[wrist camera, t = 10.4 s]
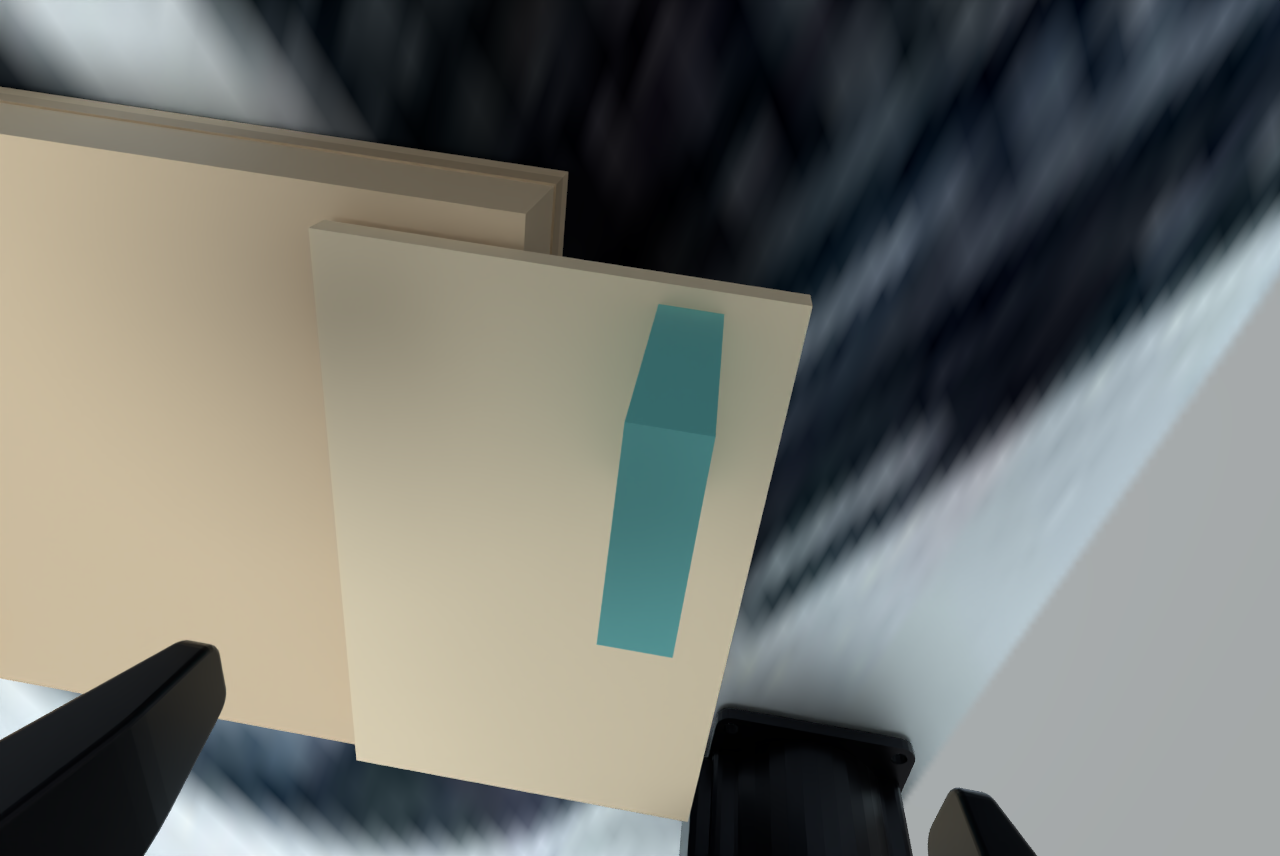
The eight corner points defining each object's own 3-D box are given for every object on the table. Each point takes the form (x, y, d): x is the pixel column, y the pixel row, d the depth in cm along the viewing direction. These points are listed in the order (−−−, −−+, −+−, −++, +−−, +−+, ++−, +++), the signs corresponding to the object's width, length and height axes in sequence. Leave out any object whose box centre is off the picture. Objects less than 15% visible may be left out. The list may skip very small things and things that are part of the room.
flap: (810, 295, 14) (838, 428, 10) (689, 802, 22) (674, 1009, 17) (324, 219, 15) (142, 315, 10) (365, 742, 22) (270, 929, 18)
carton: (570, 169, 18) (528, 211, 15) (534, 668, 26) (501, 772, 22) (-248, 47, 19) (-471, 59, 15) (-41, 565, 27) (-159, 649, 23)
